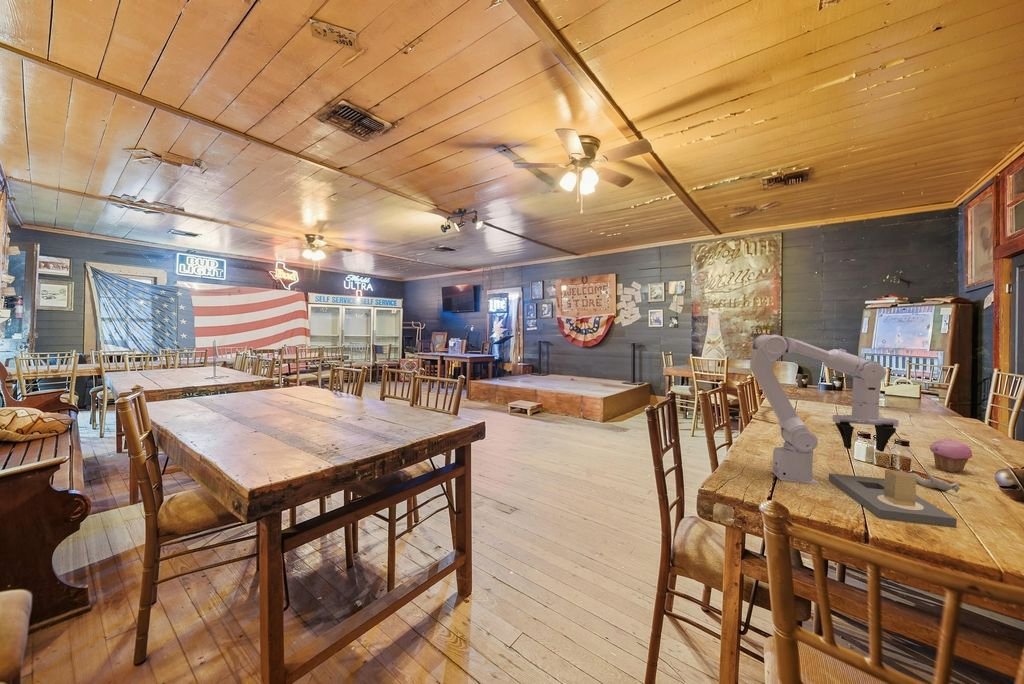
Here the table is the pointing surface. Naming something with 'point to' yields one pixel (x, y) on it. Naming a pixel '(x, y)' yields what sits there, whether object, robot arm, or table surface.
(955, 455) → the cupcake
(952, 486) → the soldier figure
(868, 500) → the board
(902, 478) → the brass post
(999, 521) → the table surface
